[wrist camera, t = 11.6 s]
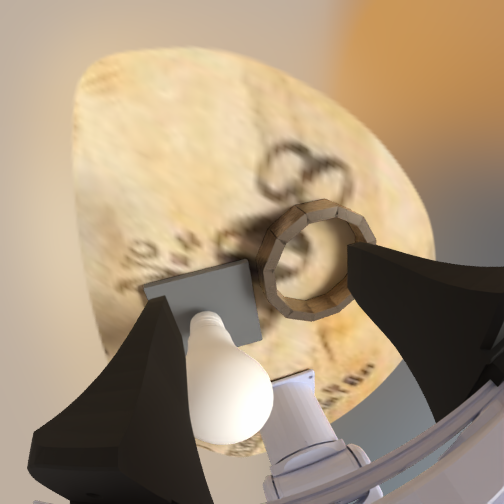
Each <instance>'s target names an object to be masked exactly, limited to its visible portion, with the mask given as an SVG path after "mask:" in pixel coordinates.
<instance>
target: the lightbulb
mask: <svg viewBox="0 0 504 504" xmlns="http://www.w3.org/2000/svg"><path fill="white" fill-rule="evenodd" d="M186 369H187V386H188V401H189V412H190V419H191V424H192V429H193V434H194V437H195V438H197V439H199V440H201V441H204V442H208V443H212V444H219V445H226V444H234V443H237V442H241V441H243V440H246V439H248V438H250V437H251V436H253V435H254V434H255V433H257V432H258V431H259V430H260V429H261V428H262V427H263V425H264V424H265V422H266V421H267V419H268V418H269V415H270V413H271V410H272V407H273V388H272V384H271V381H270V379H269V376H268V374H267V372H266V371H265V370H264V368H263V367H262V366H261V365H260V364H259V362H258V361H256V360H255V359H254V358H252V357H251V356H249V355H248V354H247V353H245V352H244V351H242V350H240V349H239V348H237V347H236V346H235V344H234V343H233V341H232V339H231V336H230V334H229V333H228V331H227V330H226V329H225V327H224V324H223V322H222V320H221V318H220V316H219V315H218V314H216V313H214V312H211V311H204V312H200V313H198V314H196V315H195V316H194V317H193V318H192V319H191V322H190V336H189V339H188V351H187V355H186Z"/></svg>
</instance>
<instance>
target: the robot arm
mask: <svg viewBox="0 0 504 504" xmlns="http://www.w3.org/2000/svg"><path fill="white" fill-rule="evenodd" d="M347 252H348V268H347V288H348V290H349V291H350V293H351V294H352V296H353V298H354V299H355V300H356V302H357V303H358V305H359V306H360V307H361V308H362V310H363V311H364V312H365V313H366V314H367V315H368V316H369V317H370V319H371V320H372V321H373V322H374V323H375V324H376V325H377V326H378V327H379V329H380V330H381V331H382V332H383V333H384V334H385V335H386V336H387V338H388V339H389V340H390V341H391V342H392V344H393V345H394V346H395V347H396V349H397V350H398V352H399V353H400V355H401V356H402V358H403V359H404V361H405V362H406V364H407V365H408V367H409V369H410V370H411V372H412V374H413V376H414V377H415V379H416V381H417V382H418V384H419V386H420V388H421V390H422V392H423V394H424V396H425V398H426V400H427V403H428V405H429V407H430V409H431V412H432V414H433V416H434V419H435V422H436V424H435V425H434V426H432V427H430V428H429V429H428V430H426V431H424V432H423V433H421V434H420V435H418V436H417V437H416V438H414V439H412V440H410V441H409V442H407V443H406V444H404V445H402V446H401V447H399V448H397V449H395V450H394V451H392V452H390V453H388V454H386V455H385V456H383V457H381V458H379V459H377V460H375V461H373V462H371V461H370V460H369V458H368V456H367V455H366V453H365V452H364V451H363V450H362V448H361V447H359V446H356V445H354V444H351V443H350V444H348V445H345V443H344V441H343V439H340V440H338V438H337V437H336V435H335V433H334V431H333V429H332V427H331V425H330V423H329V422H328V420H327V418H326V416H325V414H324V412H323V410H322V408H321V407H320V405H319V403H318V401H317V399H316V397H315V395H314V388H315V372H314V370H312V369H310V370H307V371H304V372H301V373H298V374H295V375H292V376H289V377H286V378H283V379H280V380H277V381H273V382H271V384H272V388H273V407H272V410H271V413H270V415H269V418H268V419H267V421H266V422H265V424H264V425H263V427H262V428H261V429H260V430H259V431H260V434H261V437H262V440H263V443H264V446H265V448H266V451H267V454H268V457H269V460H270V462H271V465H272V466H270V470H271V473H272V475H268V476H266V479H265V480H264V482H263V488H264V493H265V496H266V499H267V502H266V503H262V504H348V503H350V502H352V501H355V500H357V499H358V500H357V501H356V502H355V503H353V504H504V267H476V266H465V265H455V264H450V263H444V262H438V261H434V260H429V259H425V258H421V257H417V256H413V255H410V254H406V253H403V252H399V251H396V250H392V249H389V248H385V247H382V246H378V245H374V244H370V243H366V242H357V243H354V244H350V245H347ZM471 422H472V423H471ZM470 423H471V424H470ZM468 424H470V425H469V426H468V427H467V428H466V429H465V430H464V431H463V432H462V433H461V434H460V435H459V437H458V438H457V440H456V441H455V442H454V443H453V444H452V445H451V446H450V448H448V450H446V451H445V453H443V454H442V455H441V456H440V457H439V458H438V462H437V463H436V464H434V465H433V466H432V467H430V468H429V469H428V470H426V471H424V472H423V473H421V474H420V475H418V476H417V477H415V478H414V479H412V480H411V481H409V482H407V483H406V484H404V485H403V486H401V487H399V488H398V489H396V490H394V491H393V492H391V493H389V494H388V495H386V496H384V497H383V493H382V491H381V489H380V487H379V485H380V484H382V483H383V482H385V481H387V480H389V479H391V478H393V477H394V476H396V475H398V474H399V473H401V472H403V471H405V470H406V469H408V468H410V467H411V466H413V465H414V464H416V463H417V462H419V461H420V460H422V459H423V458H425V457H426V456H428V455H429V454H431V453H432V452H434V451H435V450H436V449H438V448H439V447H440V446H442V445H443V444H445V443H446V442H447V441H449V440H450V439H451V438H453V437H454V436H455V435H456V434H458V433H459V432H460V431H461V430H462V429H464V428H465V427H466V426H467V425H468ZM27 469H28V471H29V473H30V474H31V476H32V477H33V478H34V479H35V480H36V481H38V482H39V483H41V484H42V485H44V486H46V487H47V488H49V489H50V490H52V491H54V492H55V493H57V494H59V495H61V496H63V497H64V498H66V499H68V500H70V504H214V503H213V500H212V497H211V494H210V491H209V489H208V486H207V482H206V479H205V476H204V473H203V469H202V466H201V462H200V458H199V454H198V451H197V447H196V442H195V438H194V434H193V429H192V424H191V419H190V412H189V401H188V386H187V369H186V357H185V351H184V345H183V339H182V335H181V333H180V331H179V328H178V326H177V323H176V321H175V318H174V316H173V313H172V311H171V308H170V306H169V303H168V301H167V298H166V296H165V295H164V296H160V297H156V298H152V299H150V300H149V301H148V303H147V304H146V306H145V308H144V310H143V311H142V313H141V315H140V316H139V318H138V320H137V322H136V323H135V325H134V327H133V328H132V330H131V332H130V333H129V335H128V336H127V338H126V339H125V341H124V342H123V344H122V345H121V347H120V348H119V350H118V351H117V353H116V354H115V356H114V357H113V358H112V360H111V361H110V362H109V364H108V365H107V366H106V367H105V369H104V370H103V371H102V372H101V374H100V375H99V376H98V377H97V378H96V379H95V380H94V381H93V382H92V383H91V385H90V386H89V387H88V388H87V389H86V390H85V391H84V392H83V393H82V394H81V395H80V396H79V397H78V398H77V399H76V400H75V401H73V402H72V404H70V405H69V406H68V407H67V408H66V409H64V410H63V411H62V412H61V413H59V414H58V415H57V416H56V417H54V418H53V419H52V420H50V421H49V422H47V423H46V424H45V425H43V426H42V427H40V428H39V429H37V430H36V431H34V433H33V438H32V443H31V449H30V454H29V460H28V466H27ZM33 504H50V503H45V502H41V501H36V500H35V501H34V502H33Z"/></svg>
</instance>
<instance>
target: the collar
mask: <svg viewBox="0 0 504 504" xmlns="http://www.w3.org/2000/svg"><path fill="white" fill-rule="evenodd" d="M335 217H337V218H340V219H342V220H345V221H347V222H348V224H349V226H350V227H351V229H352V231H353V232H354V234H355V243H357V242H366V243H370V244H374V245H376V238H375V236H374V235H373V233H372V231H371V229H370V227H369V225H368V223H367V222H366V220H365V218H364V217H363V216H361V215H360V214H358V213H356V212H354V211H352V210H351V209H349V208H346V207H344V206H341V205H339V204H337V203H334V202H332V201H329V200H327V199H322V200H317V201H312V202H308V203H303V204H298V205H295V206H293V207H292V208H291V209H290V210H289V211H287V212H286V213H285V214H284V215H283V216H282V217H280V218H279V219H278V220H277V221H276V222H275V223H273V224H272V225H271V226H270V227H269V229H268V230H267V232H266V235H265V237H264V240H263V242H262V245H261V247H260V249H259V252H258V254H257V257H256V264H257V270H258V276H259V282H260V287H261V289H262V291H263V293H264V294H265V296H266V298H267V300H268V301H269V302H270V303H271V304H272V305H273V306H274V307H275V308H276V309H277V310H278V311H279V312H280V313H281V314H282V315H284V316H285V317H286V318H290V319H297V320H304V321H311V322H312V321H315V320H318V319H321V318H324V317H327V316H330V315H333V314H336V313H338V312H340V311H341V310H342V309H343V308H345V307H346V306H347V305H348V304H349V303H350V302H351V301H353V300H354V298H353V296H352V294H351V293H350V291H349V290H348V288H347V274H346V276H345V278H344V279H343V280H342V281H341V282H340V283H339V284H337V285H336V286H335V287H334V288H333V289H332V290H330V291H329V292H328V293H327V294H324V295H321V296H318V297H315V298H312V299H309V300H305V301H304V300H298V299H293V298H288V297H284V296H283V295H282V294H281V293H280V292H279V291H278V290H277V288H276V280H275V273H274V270H275V268H276V266H277V263H278V261H279V259H280V256H281V254H282V252H283V249H284V247H285V245H286V243H287V242H289V241H290V240H291V239H292V238H293V237H294V236H296V235H297V234H298V233H299V232H300V231H301V230H302V229H304V228H305V227H306V226H307V225H308V224H309V223H314V222H318V221H322V220H326V219H331V218H335Z"/></svg>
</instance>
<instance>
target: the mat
mask: <svg viewBox="0 0 504 504" xmlns="http://www.w3.org/2000/svg"><path fill="white" fill-rule="evenodd" d="M143 289H144V291H145V294H146V296H147V299H148V301H149V300H150V299H152V298H156V297H160V296H164V295H165V296H166V298H167V301H168V303H169V306H170V308H171V311H172V313H173V316H174V318H175V321H176V323H177V326H178V328H179V331H180V333H181V335H182V339H183V345H184V351H185V357H186V355H187V351H188V339H189V336H190V322H191V319H192V318H193V317H194V316H195V315H196V314H198V313H200V312H204V311H211V312H214V313H216V314H218V315H219V316H220V318H221V320H222V322H223V324H224V327H225V329H226V330H227V331H228V333H229V334H230V336H231V339H232V341H233V343H234V344H235V346H236V347H239V346H243V345H246V344H250V343H254V342H257V341H261V340H262V335H261V330H260V324H259V319H258V313H257V308H256V302H255V297H254V291H253V286H252V280H251V275H250V269H249V264H248V261H247V259H243V260H239V261H235V262H231V263H227V264H223V265H219V266H215V267H211V268H208V269H204V270H200V271H196V272H192V273H188V274H184V275H180V276H176V277H172V278H168V279H164V280H160V281H156V282H152V283H148V284H144V288H143Z"/></svg>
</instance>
